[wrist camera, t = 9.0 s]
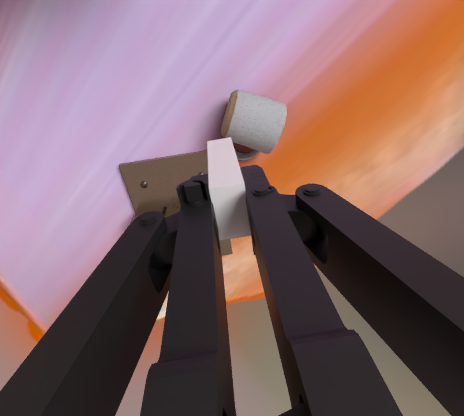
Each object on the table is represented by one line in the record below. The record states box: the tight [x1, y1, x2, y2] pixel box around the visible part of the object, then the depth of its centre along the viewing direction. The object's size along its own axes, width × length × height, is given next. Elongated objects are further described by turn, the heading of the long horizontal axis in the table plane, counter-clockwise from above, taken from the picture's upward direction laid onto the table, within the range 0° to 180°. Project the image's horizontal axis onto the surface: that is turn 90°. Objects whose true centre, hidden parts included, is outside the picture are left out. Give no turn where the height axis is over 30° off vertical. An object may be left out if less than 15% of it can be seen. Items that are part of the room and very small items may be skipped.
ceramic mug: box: [221, 90, 287, 160], centre depth 41 cm, size 11×8×8 cm
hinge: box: [119, 150, 232, 255], centre depth 49 cm, size 16×22×4 cm
